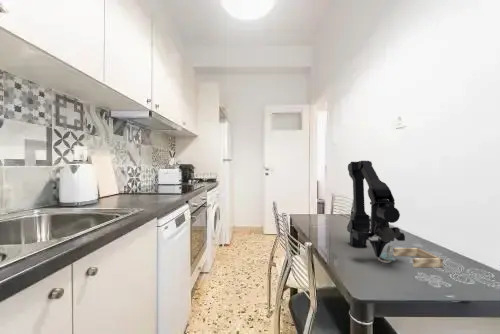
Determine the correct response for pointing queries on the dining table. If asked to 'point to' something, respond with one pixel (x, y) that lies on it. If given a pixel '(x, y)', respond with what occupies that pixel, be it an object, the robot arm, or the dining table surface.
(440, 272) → the dining table surface
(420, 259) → the box
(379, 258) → the pacifier
